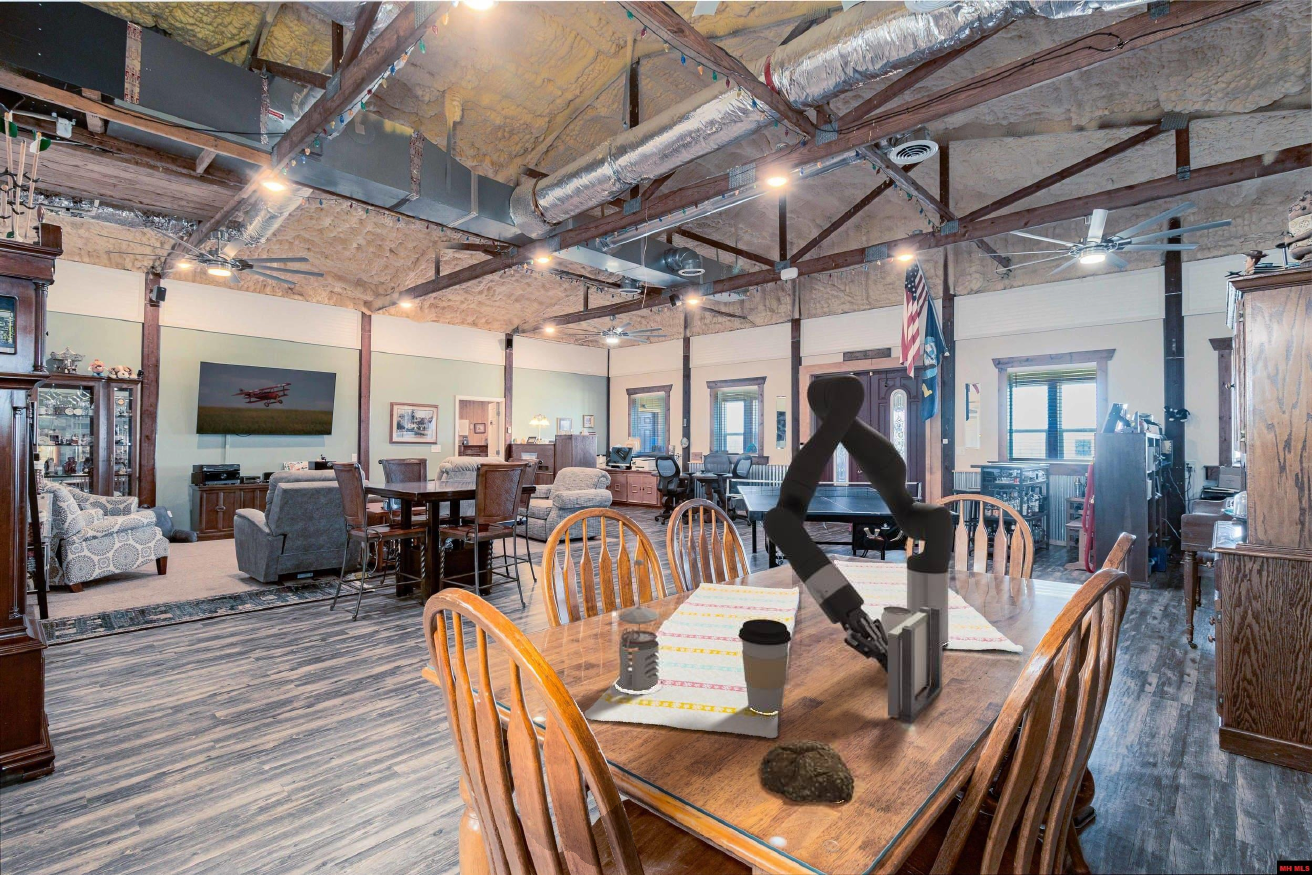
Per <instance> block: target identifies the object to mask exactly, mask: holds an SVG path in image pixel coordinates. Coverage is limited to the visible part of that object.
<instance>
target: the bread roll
mask: <svg viewBox="0 0 1312 875" xmlns="http://www.w3.org/2000/svg"><path fill="white" fill-rule="evenodd" d="M760 765H761V766H760V768H761V769H762V777H761V781H762V784H763V786H764V788H766V789H767V790H769V791H771V792H773V793H775V792H776V794H779V793H780V794H779V795H784V796H786V797H787V798H788V799H791V800H792V799H793V800H792V801H795V800H797V801H796V802H803V801H804V802H805V803H808V802H810V804H811V802H813V804H816V803H821V802H822V803H823V801H824V802H825V803H827V802H826V801H829V802H828V803H832V802H840V801H842V800H847V801H849V800H851V798H852V796H853V794H854V790H855V786H854V783H855V779H854V777H853V775H852V773H851V770H850V768H848V766H847V764H846V762H845V761H844V760H843V759H842V756H841V755H840V754H839V753H838V752H837V751H835V748H833V747H830V745H829V744H828V743H825V744H824V743H822V742H820V741H817V740H816V741H815V740H813V739H810V738H804V739H797V740H792V741H789V742H788V741H787V742H784V743H779V744H778V745H776V746H773V747H771V748H770V750H768V751H767V752H766V753H765V755H763V757H762V759H761V763H760Z"/></svg>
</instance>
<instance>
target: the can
mask: <svg viewBox="0 0 1312 875" xmlns="http://www.w3.org/2000/svg"><path fill="white" fill-rule="evenodd" d="M880 616H881V618H880V621H881V623H882V626H883V629H884V631H885V634H886V636H887V639H888V632H890V631H891V630H893V629H894V628H896V627H897V626H899V625H900V624H902V623H903V622H904V621H906V620H907V619H909V618H910V617H912V615H911V610H909V609H907V607H902V606H894V605H893V606H889V605H888V606H885V607H883V612H882V613H881V615H880ZM887 647H888V646H887ZM887 651H888V650H887Z"/></svg>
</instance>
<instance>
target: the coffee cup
mask: <svg viewBox="0 0 1312 875" xmlns="http://www.w3.org/2000/svg"><path fill="white" fill-rule="evenodd" d="M738 638H739V639H741V643H742V644H741V645H742V650H741V651H742V653H741V654H742V662H743V663H742V664H743V672H744V681H745V686H746V694H747V703H748V704H747V705H748V708H749V707H750V708H752V709H753V710H755V711H758V712H762V713H773V712H775V711H778V713H777V714H779V713H780V712H782V708H783V700H784V699H783V698H784V690H785V685H786V680H787V669H788V661H789V660H788V659H789V651H788V650H789V642H790V641H791V640H792V636H791V632H790V630H788V626H787V625H786V624H785V623H784V622H781V621H778V620H773V619H765V618H762V619H761V618H759V619H758V618H756V619H749V620H746V621H744V622H743V623H742V627H740V629H739V631H738Z"/></svg>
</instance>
